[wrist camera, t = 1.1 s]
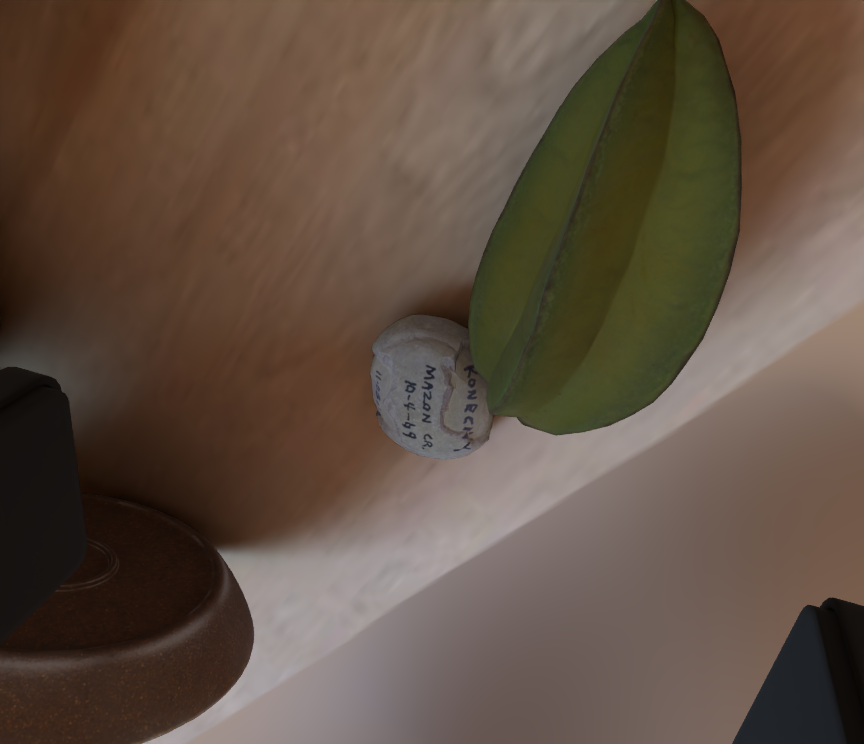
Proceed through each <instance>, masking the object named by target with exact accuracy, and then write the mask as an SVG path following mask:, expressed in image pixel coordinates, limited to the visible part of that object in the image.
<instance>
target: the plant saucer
mask: <svg viewBox="0 0 864 744" xmlns="http://www.w3.org/2000/svg"><path fill="white" fill-rule="evenodd" d="M81 500H82V508H83V516H84V524H85V532H86V539H87V550H86V554H85V557H84V559H83V561H82V563H81V565H80V566H79V568H78V569H77V570H76V571H75V572H74V573H73V574H72V575H71V576H70V577H69V578H68V579H67V580H66V581H65V582H64V583H63V584H62V585H61V586H60V587H59V588H58V589H57V590H56V591H55V592H54V593H53V594H52V595H51V596H50V597H49V598H48V599H47V600H46V601H45V602H44V603H43V604H42V605H41V606H39V607H38V608H37V609H36V610H35V611H34V612H33V613H32V614H31V615H30V616H29V617H28V618H27V619H26V620H25V621H24V622H23V623H22V624H21V625H20V626H19V627H18V628H17V629H16V630H15V631H14V632H13V633H12V634H11V635H10V636H9V637H8V638H7V639H6V640H5V641H4V642H3V643H2V644H1V645H0V744H142V743H145V742H147V741H150V740H152V739H155V738H157V737H160V736H162V735H164V734H166V733H169V732H170V731H172V730H174V729H176V728H178V727H180V726H182V725H184V724H185V723H187V722H189V721H191V720H193V719H195V718H196V717H198V716H199V715H201V714H202V713H204V712H205V711H206V710H208V709H209V708H210V707H212V706H213V705H214V704H215V703H216V702H218V701H219V700H220V699H221V698H222V697H223V696H224V695H225V694H226V693H227V692H228V691H229V690H230V689H231V688H232V687H233V686H234V684H235V683H236V682H237V680H238V679H239V678H240V677H241V675H242V673H243V671H244V669H245V668H246V666H247V664H248V662H249V659H250V656H251V652H252V648H253V643H254V627H253V621H252V617H251V614H250V611H249V607H248V604H247V602H246V600H245V597H244V595H243V592H242V590H241V588H240V586H239V584H238V582H237V580H236V579H235V577H234V575H233V573H232V571H231V570H230V568H229V567H228V565H227V564H226V562H225V561H224V559H223V558H222V556H221V555H220V554H219V552H218V551H217V550H216V549H215V548H214V547H213V546H212V544H211V543H210V542H209V541H207V540H206V539H205V538H204V537H203V536H202V535H201V534H199V533H198V532H196V531H195V530H194V529H192V528H191V527H189V526H188V525H186V524H184V523H182V522H181V521H179V520H177V519H175V518H173V517H171V516H169V515H166V514H164V513H162V512H159V511H157V510H154V509H151V508H149V507H146V506H143V505H140V504H136V503H133V502H129V501H125V500H122V499H117V498H112V497H107V496H102V495H96V494H88V493H81Z"/></svg>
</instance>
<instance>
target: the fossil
mask: <svg viewBox="0 0 864 744" xmlns="http://www.w3.org/2000/svg"><path fill="white" fill-rule="evenodd" d="M371 349H372V351H373V353H374V355H373V361H372V365H371V370H370V376H371V379H372V387H373V400H374V402H375V404H376V406H377V413H376V416H377V419H378V422H379V424H380V426H381V428H382V430H383V431H384V432H385V433H386V435H387V436H389V437H390V438H391V439H392V440H393V441H394V442H396V443H397V444H398V445H400V446H401V447H403V448H405V449H406V450H408V451H410V452H412V453H415V454H417V455H420V456H424V457H429V458H436V459H453V458H460V457H463V456H466V455H468V454H470V453H472V452H473V451H475V450H477V449H478V448H480V447H481V446H482V445H483V444H484V443H485V442H486V441H488V440H489V435H490V431H491V428H492V419H493V415H492V414H490V413H489V412H488V406H487V400H486V395H487V389H488V382H487V381H486V380H485V379H484V378H483V376H482V375H481V374H480V373H479V372H478V371H477V370H476V369H475V368H474V365H473V360H472V356H471V351H470V343H469V330H468V329H467V328H465V327H463V326H461V325H459V324H457V323H456V322H454V321H451V320H449V319H444V318H441V317H435V316H428V315H411V316H408V317H405V318H402V319H400V320H398V321H396V322H394V323H393V324H391V325H390V326H388V327H387V328H386V329H385V330H384V331H383V332H382V333H381V335H380V336H379V337H378V338H377V340H376V341H375V343H374V344H373V346H372V347H371Z"/></svg>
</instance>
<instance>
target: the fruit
mask: <svg viewBox="0 0 864 744" xmlns="http://www.w3.org/2000/svg"><path fill="white" fill-rule="evenodd" d="M741 189H742V175H741V134H740V127H739V119H738V112H737V104H736V97H735V91H734V88H733V85H732V81H731V78H730V75H729V71H728V68H727V65H726V62H725V58H724V55H723V52H722V48H721V45H720V42H719V39H718V37H717V36H716V34H715V32H714V31H713V29H712V28H711V26H710V24H709V23H708V21H707V19H706V18H705V16H704V15H703V14H701V13H700V12H699V11H698V10H697V9H695V8H694V7H693V6H692V5H691V4H689V3H688V2H687V1H686V0H658V1H657V2H656V3H655V4H654V5H653V6H652V7H651V9H650V10H649V11H648V12H647V14H646V15H645V16H644V17H643V18H642V20H640V21H639V22H638V23H636V24H635V25H634V26H632V27H631V28H630V29H629V30H627V31H626V32H625V33H624V34H623V35H622V36H621V37H620V38H618V39H617V40H616V41H615V42H614V43H613V44H612V45H611V46H610V47H609V48H608V49H607V50H606V51H605V52H604V53H603V54H602V55H601V56H600V57H599V58H598V59H597V60H596V61H595V62H594V63H593V64H592V65H591V67H590V68H589V69H588V70H587V71H586V72H585V74H584V75H583V76H582V77H581V78H580V79H579V81H578V82H577V83H576V84H575V86H574V87H573V88H572V90H571V91H570V93H569V94H568V96H567V97H566V99H565V100H564V102H563V103H562V105H561V106H560V108H559V109H558V111H557V112H556V114H555V116H554V118H553V119H552V121H551V123H550V125H549V126H548V128H547V130H546V131H545V133H544V135H543V137H542V138H541V140H540V142H539V143H538V145H537V147H536V148H535V150H534V152H533V153H532V155H531V157H530V158H529V160H528V162H527V164H526V166H525V167H524V169H523V171H522V173H521V175H520V177H519V179H518V180H517V182H516V184H515V186H514V188H513V190H512V193H511V195H510V197H509V199H508V201H507V203H506V205H505V208H504V210H503V211H502V213H501V215H500V217H499V219H498V221H497V223H496V225H495V227H494V229H493V231H492V233H491V236H490V238H489V241H488V243H487V245H486V248H485V250H484V253H483V256H482V259H481V262H480V265H479V268H478V271H477V274H476V278H475V282H474V286H473V290H472V294H471V299H470V310H469V321H468V328H469V343H470V351H471V356H472V360H473V365H474V368H475V369H476V370H477V371H478V372H479V373H480V374H481V375H482V376H483V378H484V379H485V380H486V381H487V382H488V389H487V395H486V400H487V406H488V412H489V413H490V414H492V415H500V416H508V417H517V418H518V420H519V421H520V422H521V423H522V424H523V425H525V426H528V427H531V428H534V429H537V430H541V431H544V432H547V433H550V434H553V435H563V434H572V433H580V432H586V431H590V430H594V429H598V428H602V427H606V426H610V425H612V424H614V423H616V422H618V421H620V420H623V419H625V418H627V417H629V416H631V415H633V414H635V413H636V412H638V411H640V410H642V409H643V408H645V407H647V406H648V405H650V404H652V403H653V402H654V401H655V400H656V399H657V398H658V397H659V396H660V395H661V394H662V393H663V392H664V391H665V390H666V389H667V388H668V387H669V386H670V385H671V384H672V383H673V381H674V380H675V379H676V377H677V376H678V374H679V373H680V372H681V370H682V369H683V367H684V366H685V365H686V363H687V362H688V360H689V359H690V357H691V356H692V354H693V353H694V352H695V350H696V349H697V347H698V346H699V344H700V343H701V341H702V340H703V338H704V336H705V333H706V331H707V329H708V327H709V325H710V322H711V320H712V318H713V316H714V314H715V311H716V309H717V307H718V304H719V301H720V299H721V296H722V293H723V290H724V287H725V285H726V282H727V279H728V276H729V273H730V270H731V266H732V261H733V257H734V253H735V248H736V244H737V240H738V236H739V231H740V210H741Z"/></svg>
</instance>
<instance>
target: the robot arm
mask: <svg viewBox="0 0 864 744" xmlns="http://www.w3.org/2000/svg"><path fill="white" fill-rule="evenodd" d="M86 550H87V539H86V532H85V524H84V516H83V508H82V500H81V492H80V485H79V477H78V469H77V461H76V453H75V445H74V438H73V430H72V422H71V414H70V406H69V401H68V397H67V396H66V394H65V393H63V392H62V390H61V387H60V384H59V383H58V382H57V380H56V379H54V378H52V377H50V376H46V375H43V374H39V373H36V372H32V371H29V370H25V369H21V368H18V367H6V368H4V369H1V370H0V645H1V644H2V643H3V642H4V641H5V640H6V639H7V638H8V637H9V636H10V635H11V634H12V633H13V632H14V631H15V630H16V629H17V628H18V627H19V626H20V625H21V624H22V623H23V622H24V621H25V620H26V619H27V618H28V617H29V616H30V615H31V614H32V613H33V612H34V611H35V610H36V609H37V608H38V607H39V606H41V605H42V604H43V603H44V602H45V601H46V600H47V599H48V598H49V597H50V596H51V595H52V594H53V593H54V592H55V591H56V590H57V589H58V588H59V587H60V586H61V585H62V584H63V583H64V582H65V581H66V580H67V579H68V578H69V577H70V576H71V575H72V574H73V573H74V572H75V571H76V570H77V569H78V568H79V566H80V565H81V563H82V561H83V559H84V557H85V554H86ZM732 744H864V606H861V605H858V604H854V603H851V602H847V601H844V600H840V599H837V598H828V599H827V600H825V601H824V602H823V603H822V605H821V606H820V608H819V607H816V606H812V605H807V606H805V607H804V608H803V610H802V611H801V613H800V615H799V616H798V618H797V620H796V622H795V624H794V626H793V628H792V630H791V632H790V634H789V636H788V638H787V639H786V641H785V643H784V645H783V647H782V649H781V651H780V653H779V655H778V657H777V659H776V660H775V662H774V664H773V666H772V668H771V670H770V672H769V674H768V676H767V678H766V680H765V682H764V684H763V685H762V687H761V689H760V691H759V693H758V695H757V697H756V699H755V701H754V703H753V705H752V707H751V708H750V710H749V712H748V714H747V716H746V718H745V720H744V722H743V724H742V726H741V728H740V730H739V731H738V733H737V735H736V737H735V739H734V741H733V743H732Z"/></svg>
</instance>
